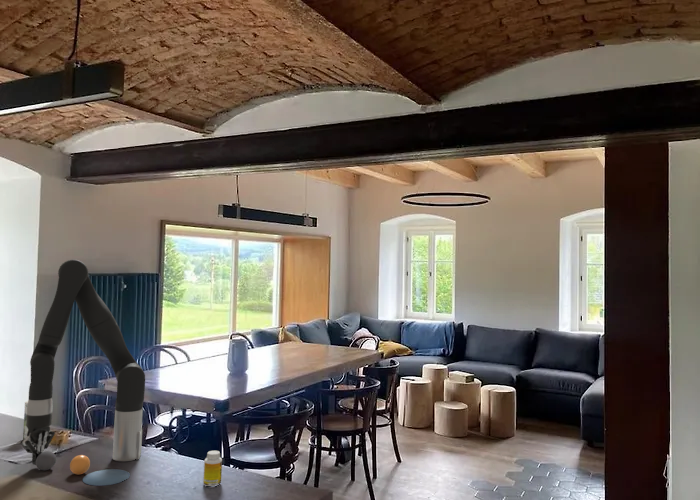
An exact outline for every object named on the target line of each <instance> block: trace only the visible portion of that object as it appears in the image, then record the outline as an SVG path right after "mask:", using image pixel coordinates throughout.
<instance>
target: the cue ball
mask: <svg viewBox="0 0 700 500" xmlns="http://www.w3.org/2000/svg"><path fill="white" fill-rule="evenodd" d="M56 461H57V456H56V454H55V453H54V452H53V451H49V450H45V451H43V452H42V453H41V454H39V455H38V457H37V458H36V465H35V466H36V468H37V469H38V470H40V471H48V470H51V469H52V468H53V467H55V465H56Z"/></svg>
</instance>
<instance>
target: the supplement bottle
mask: <svg viewBox="0 0 700 500" xmlns="http://www.w3.org/2000/svg"><path fill="white" fill-rule="evenodd" d="M222 469H223V458H222V457H221V453H220V451H219V450H209V451H208V452H207V453H206V457H205V459H204V461H203V481H202V483H203V486H204V485H206V486H215V485H218V484H220V483H222ZM220 485H221V484H220ZM206 486H205V487H206Z"/></svg>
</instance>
